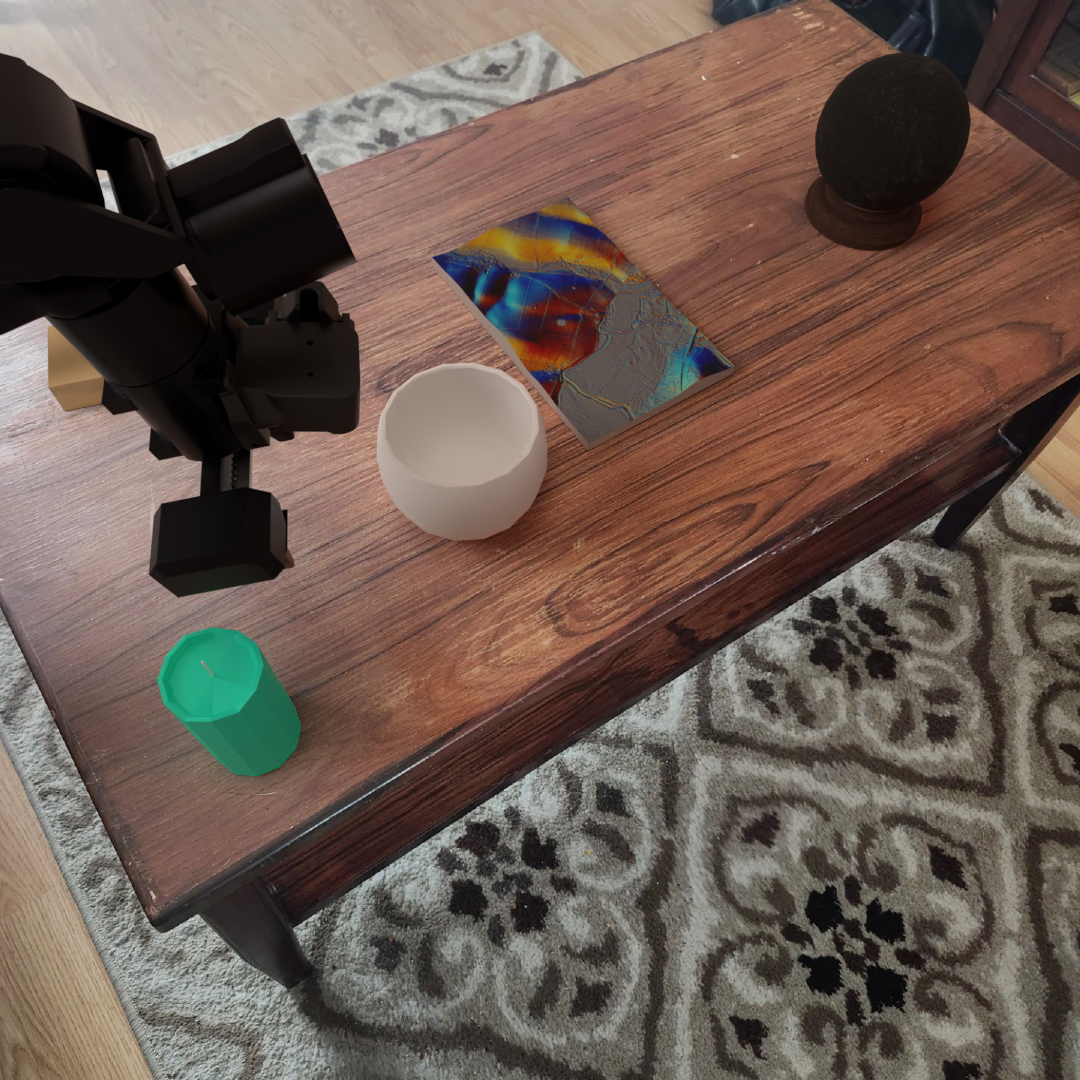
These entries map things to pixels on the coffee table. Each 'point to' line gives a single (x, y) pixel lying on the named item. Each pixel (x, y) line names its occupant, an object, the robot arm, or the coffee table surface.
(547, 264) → the relief map
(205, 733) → the candle
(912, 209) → the velvet ball on stand
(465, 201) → the coffee table surface
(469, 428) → the cup
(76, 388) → the maple block
